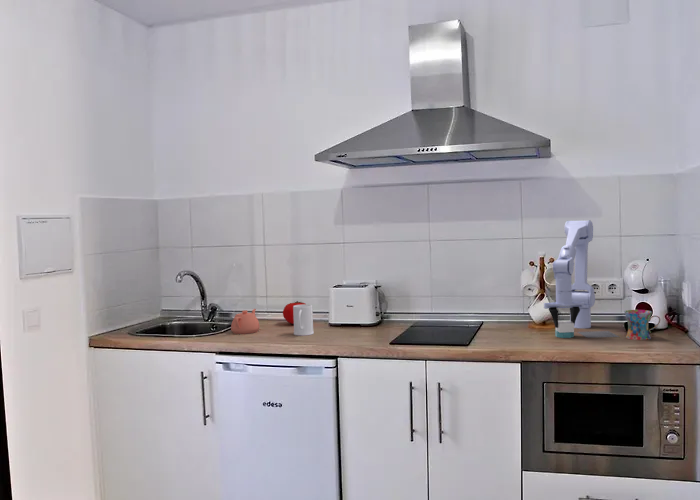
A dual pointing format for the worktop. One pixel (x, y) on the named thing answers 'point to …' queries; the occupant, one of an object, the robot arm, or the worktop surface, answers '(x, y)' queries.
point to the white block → (565, 326)
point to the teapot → (245, 323)
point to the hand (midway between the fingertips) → (564, 327)
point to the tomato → (290, 311)
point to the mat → (598, 334)
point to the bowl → (564, 334)
